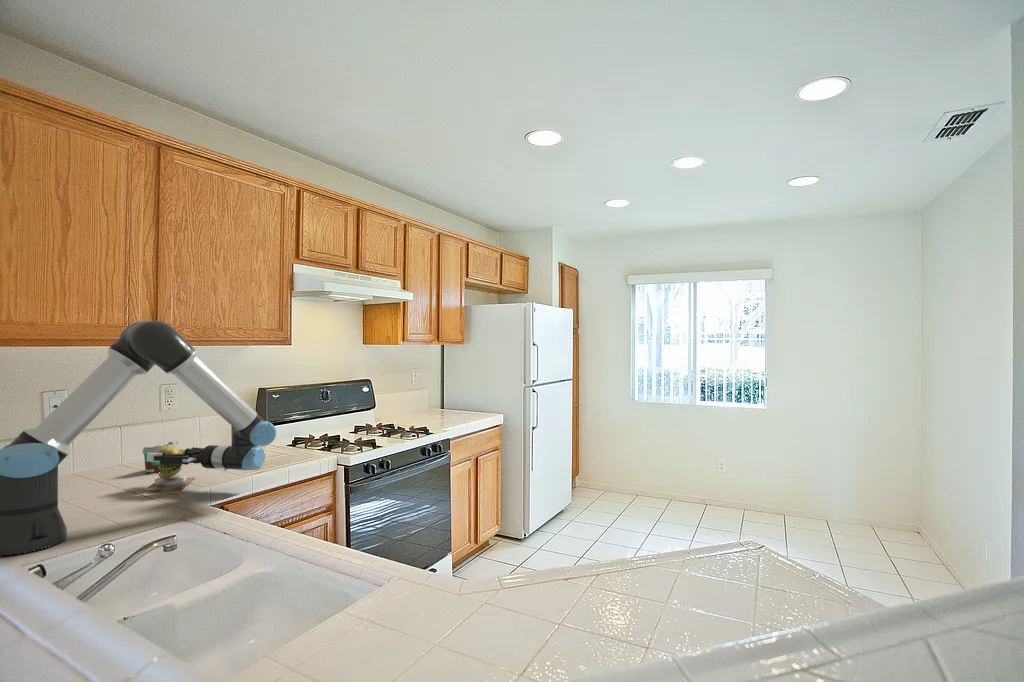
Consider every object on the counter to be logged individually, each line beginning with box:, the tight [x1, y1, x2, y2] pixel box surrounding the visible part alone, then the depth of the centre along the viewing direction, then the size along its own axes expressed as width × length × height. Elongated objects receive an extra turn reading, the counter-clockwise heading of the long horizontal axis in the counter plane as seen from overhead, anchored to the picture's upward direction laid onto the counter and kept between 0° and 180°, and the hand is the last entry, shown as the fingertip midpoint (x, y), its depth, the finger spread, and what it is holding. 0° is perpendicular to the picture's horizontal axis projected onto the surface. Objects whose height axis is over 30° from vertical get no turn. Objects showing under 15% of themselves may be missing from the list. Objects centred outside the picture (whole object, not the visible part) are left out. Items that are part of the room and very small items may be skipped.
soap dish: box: [143, 474, 196, 493], centre depth 182 cm, size 11×14×3 cm
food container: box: [142, 441, 177, 474], centre depth 203 cm, size 12×6×10 cm, turn 168°
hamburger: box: [158, 440, 183, 479], centre depth 182 cm, size 8×7×12 cm
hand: (158, 454), depth 183 cm, fingers open, 7 cm apart
